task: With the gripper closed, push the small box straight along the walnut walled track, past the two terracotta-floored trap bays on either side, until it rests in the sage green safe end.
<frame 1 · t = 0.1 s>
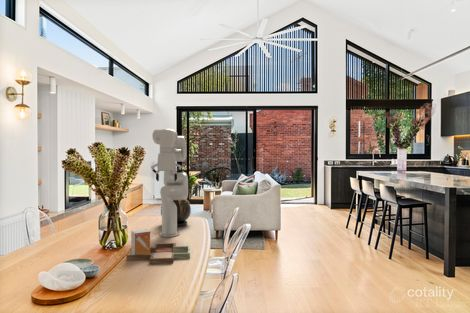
hand: (166, 181, 190), 37 cm above the table, tool pointing down, fingers open, 9 cm apart
trap track: (158, 255, 173), on the table
amphora vase: (176, 225, 243), on the table
small box: (140, 256, 172), on the table
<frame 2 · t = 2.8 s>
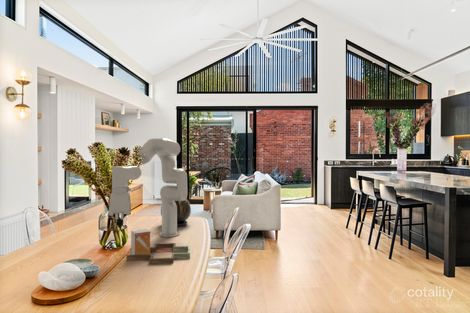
hand: (119, 226, 170), 16 cm above the table, tool pointing down, fingers closed
nothing on the table moved.
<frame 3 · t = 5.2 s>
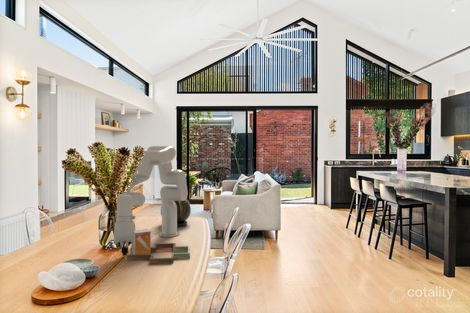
hand: (124, 254, 171), 1 cm above the table, tool pointing down, fingers closed
small box: (141, 256, 172), on the table, touching gripper
everything else where it was.
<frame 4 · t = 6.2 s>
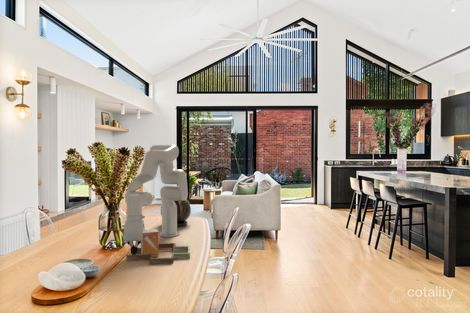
hand: (134, 254, 171), 1 cm above the table, tool pointing down, fingers closed
small box: (149, 256, 172), on the table, touching gripper
everything else where it was.
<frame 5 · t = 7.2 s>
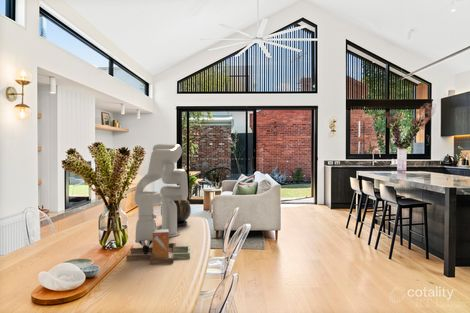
hand: (145, 253, 172), 1 cm above the table, tool pointing down, fingers closed
small box: (160, 256, 172), on the table, touching gripper
everything else where it was.
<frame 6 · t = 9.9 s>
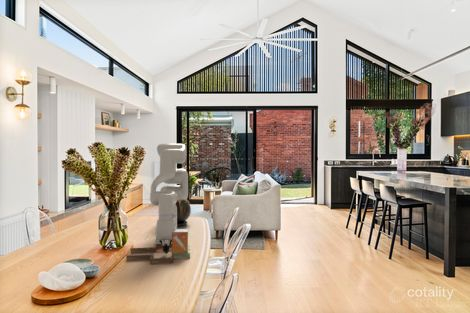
hand: (166, 252, 173), 1 cm above the table, tool pointing down, fingers closed
small box: (180, 255, 173), on the table, touching gripper, trap track
everything else where it was.
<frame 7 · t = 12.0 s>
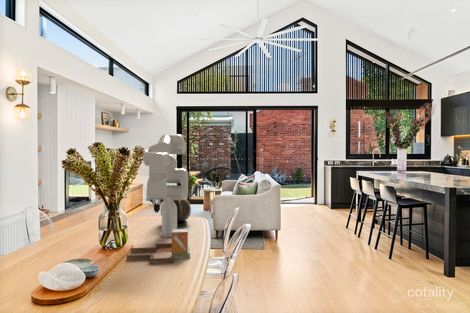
hand: (156, 211, 174), 22 cm above the table, tool pointing down, fingers closed
small box: (180, 255, 173), on the table
everything else where it was.
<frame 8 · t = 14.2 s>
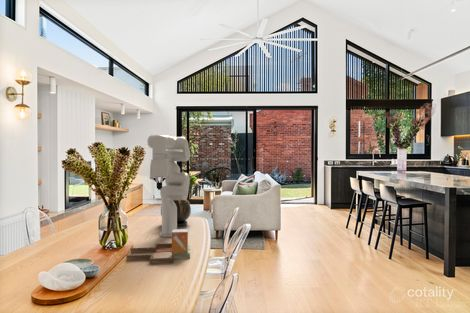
hand: (159, 189, 189), 32 cm above the table, tool pointing down, fingers closed
nothing on the table moved.
at the end: small box inside the target area (1.6 cm from its centre), on the table; small box tilted 0° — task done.
